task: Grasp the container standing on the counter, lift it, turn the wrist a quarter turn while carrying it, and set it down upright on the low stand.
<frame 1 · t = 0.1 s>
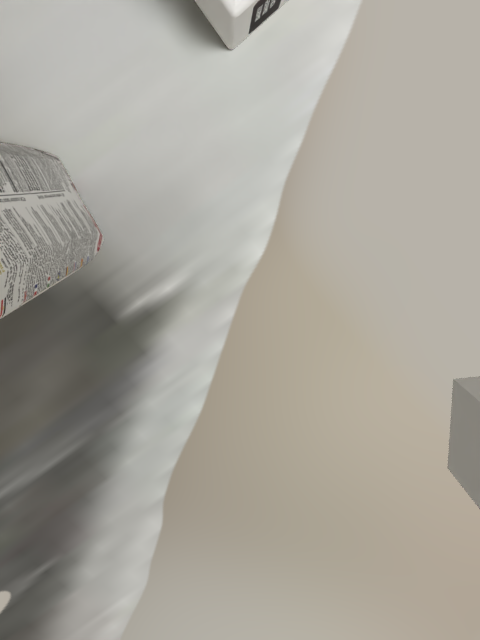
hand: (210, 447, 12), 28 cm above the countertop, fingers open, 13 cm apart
juice carton: (50, 216, 37), on the countertop
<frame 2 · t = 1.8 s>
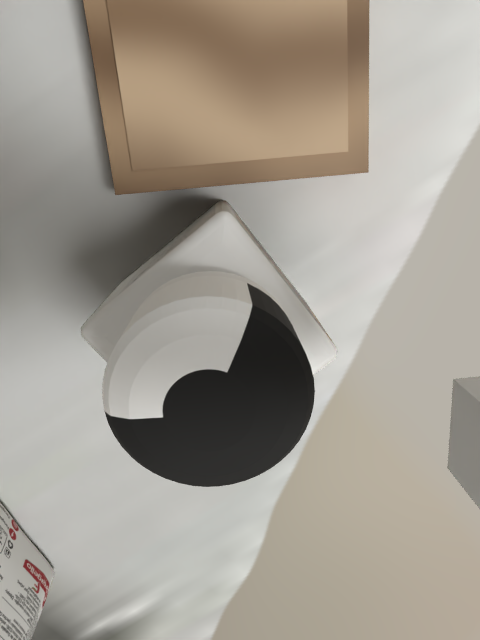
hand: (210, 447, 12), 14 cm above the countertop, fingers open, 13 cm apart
stand: (229, 53, 22), on the countertop
container: (213, 294, 26), on the countertop
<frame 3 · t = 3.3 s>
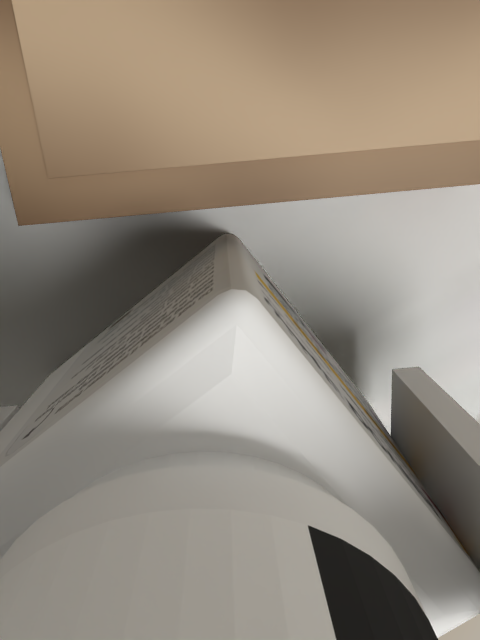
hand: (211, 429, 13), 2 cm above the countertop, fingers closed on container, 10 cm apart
container: (212, 388, 15), on the countertop, touching gripper
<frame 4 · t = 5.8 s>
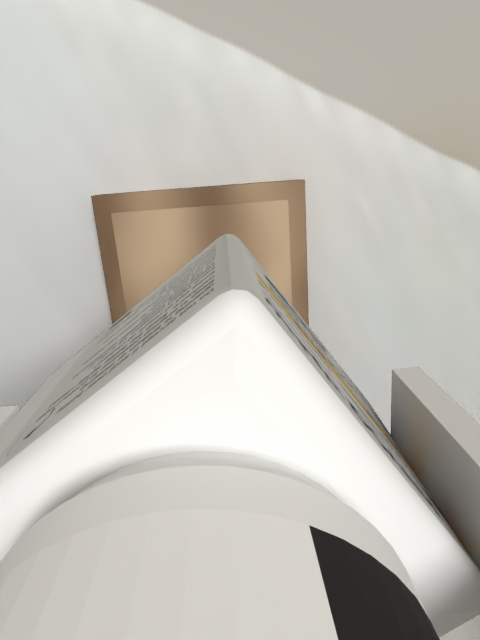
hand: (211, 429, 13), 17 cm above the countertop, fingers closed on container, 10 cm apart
stand: (209, 282, 29), on the countertop
container: (213, 388, 15), point 15 cm above the countertop, touching gripper
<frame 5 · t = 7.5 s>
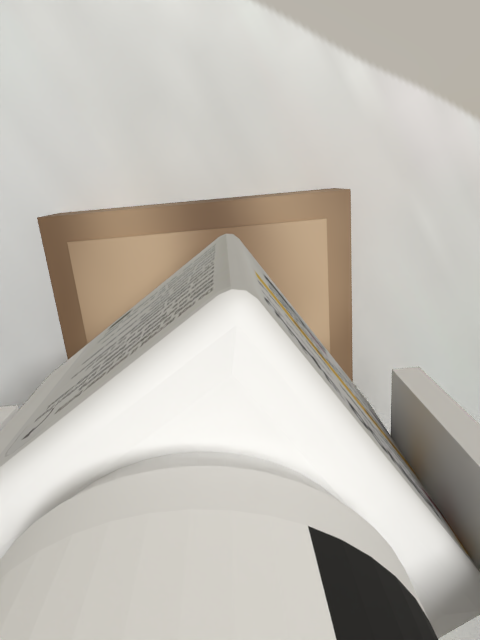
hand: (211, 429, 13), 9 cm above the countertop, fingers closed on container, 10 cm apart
stand: (212, 330, 21), on the countertop
container: (212, 388, 15), point 6 cm above the countertop, touching gripper
when the fingers open (6 cm above the countertop, at t = 8.6 s): container drops 1 cm, resting on stand.
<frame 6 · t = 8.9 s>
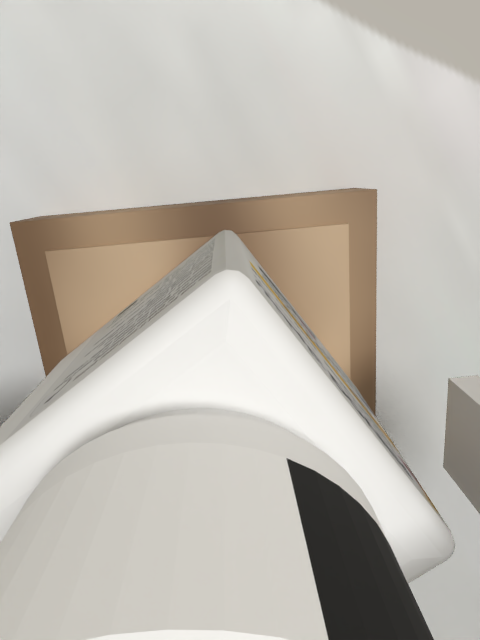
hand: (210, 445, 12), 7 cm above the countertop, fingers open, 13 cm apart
stand: (214, 349, 19), on the countertop
container: (212, 374, 16), point 3 cm above the countertop, touching stand
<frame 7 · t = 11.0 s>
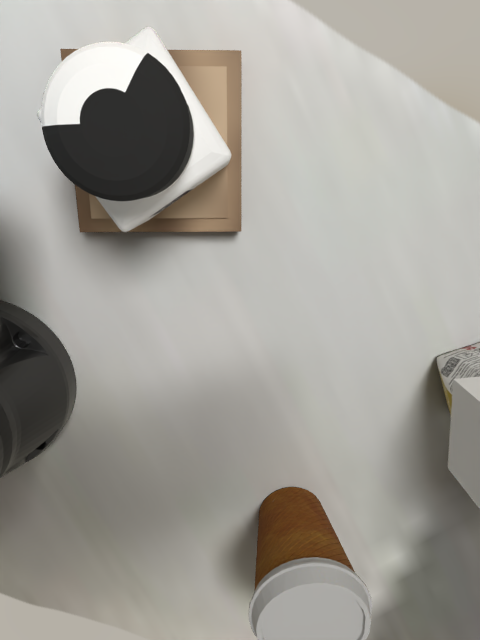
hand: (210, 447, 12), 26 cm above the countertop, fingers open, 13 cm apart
disposable coffee cup: (290, 511, 45), on the countertop
stand: (161, 148, 34), on the countertop
container: (155, 145, 32), point 3 cm above the countertop, touching stand
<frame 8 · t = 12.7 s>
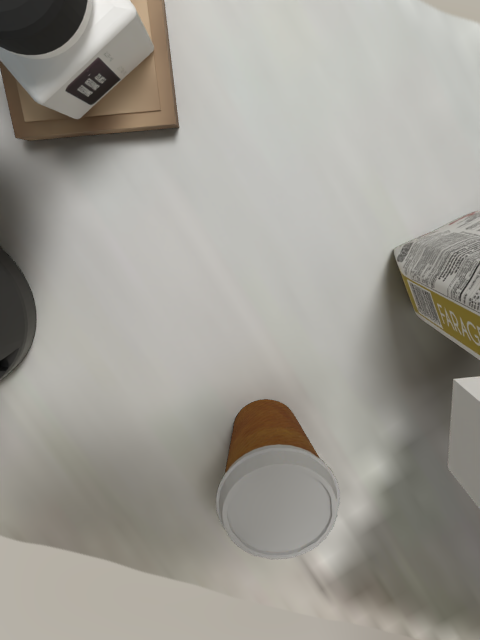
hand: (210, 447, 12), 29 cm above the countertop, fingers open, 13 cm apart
disposable coffee cup: (264, 426, 45), on the countertop
stand: (90, 49, 34), on the countertop
juice carton: (440, 262, 40), on the countertop
container: (79, 39, 32), point 3 cm above the countertop, touching stand
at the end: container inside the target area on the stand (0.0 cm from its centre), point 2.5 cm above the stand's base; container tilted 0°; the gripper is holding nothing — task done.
